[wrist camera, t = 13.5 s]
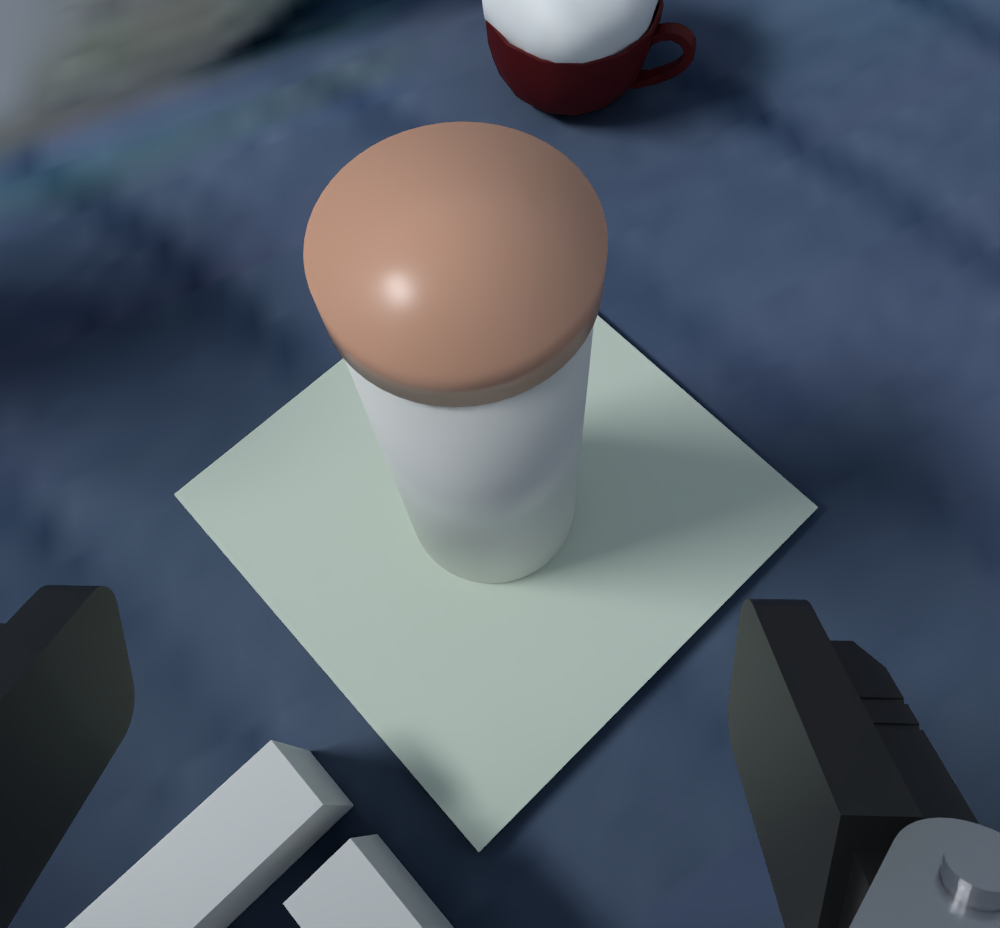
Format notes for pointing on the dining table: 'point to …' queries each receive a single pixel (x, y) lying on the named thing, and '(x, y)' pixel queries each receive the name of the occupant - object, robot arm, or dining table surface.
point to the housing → (264, 859)
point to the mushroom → (467, 331)
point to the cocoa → (580, 49)
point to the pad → (497, 606)
